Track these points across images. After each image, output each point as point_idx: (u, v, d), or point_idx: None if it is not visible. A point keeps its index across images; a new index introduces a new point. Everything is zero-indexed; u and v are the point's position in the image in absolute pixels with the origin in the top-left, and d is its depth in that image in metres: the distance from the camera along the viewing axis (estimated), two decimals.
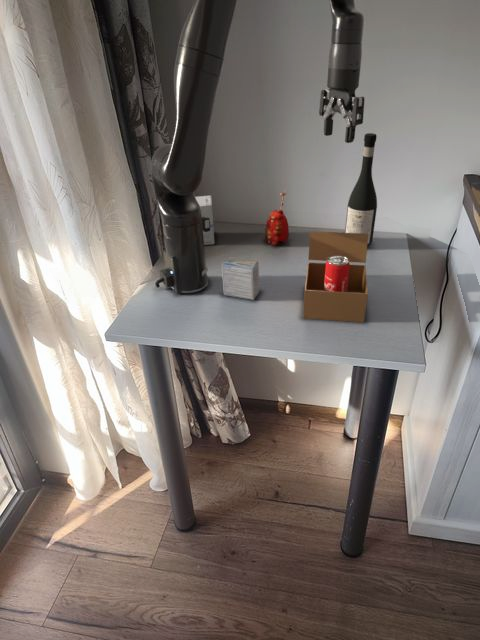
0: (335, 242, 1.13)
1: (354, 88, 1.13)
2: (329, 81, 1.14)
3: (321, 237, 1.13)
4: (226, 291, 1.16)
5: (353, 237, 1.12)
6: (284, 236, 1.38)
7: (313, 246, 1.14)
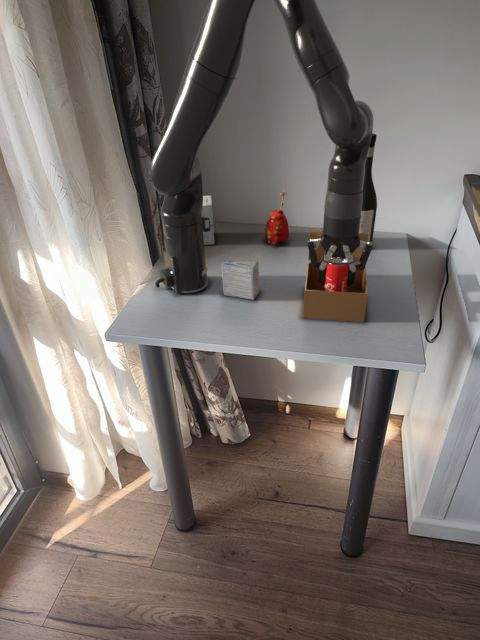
0: None
1: None
2: (338, 232, 0.97)
3: None
4: (226, 291, 1.16)
5: None
6: (284, 236, 1.38)
7: None
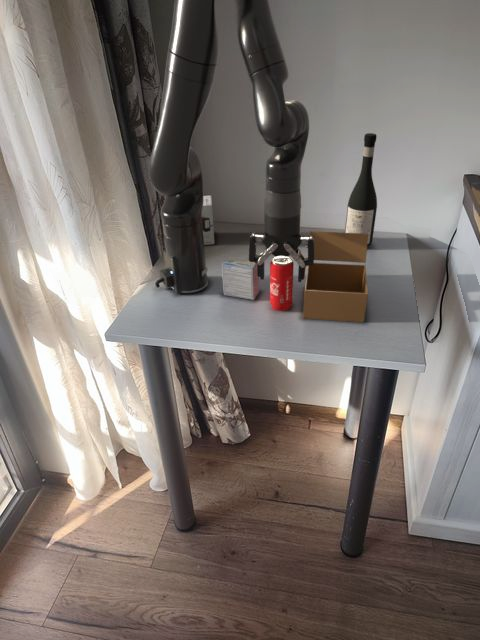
0: (335, 242, 1.13)
1: None
2: (277, 230, 0.98)
3: (321, 237, 1.13)
4: (226, 291, 1.16)
5: (353, 237, 1.12)
6: None
7: None
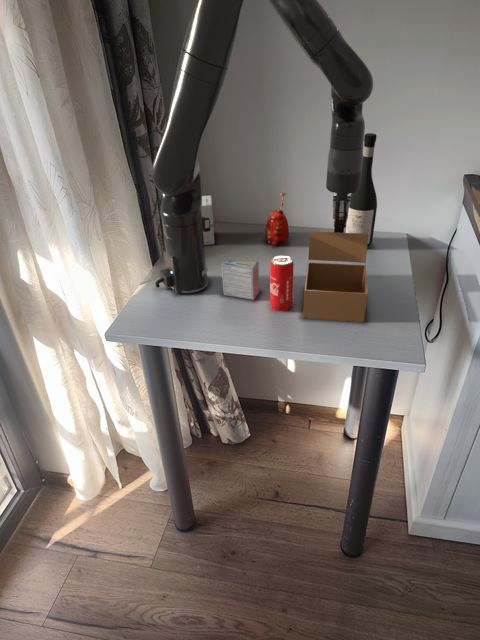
0: (335, 242, 1.13)
1: None
2: None
3: (321, 237, 1.13)
4: (226, 291, 1.16)
5: (353, 237, 1.12)
6: (284, 236, 1.38)
7: (313, 246, 1.14)
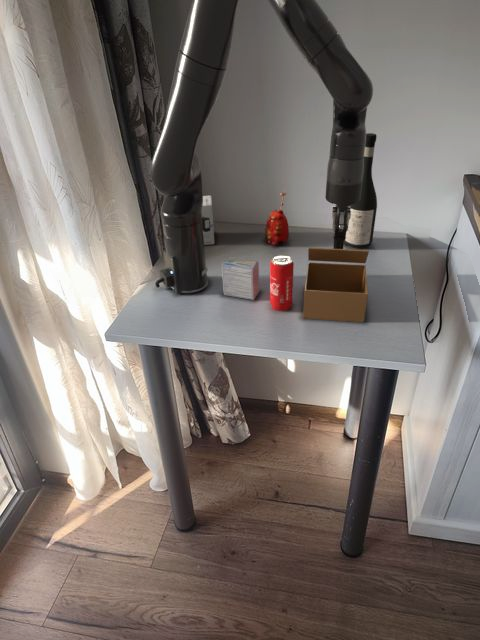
0: (335, 254, 1.10)
1: None
2: (360, 194, 1.02)
3: (320, 251, 1.09)
4: (226, 291, 1.16)
5: (353, 252, 1.08)
6: (284, 236, 1.38)
7: (312, 255, 1.12)
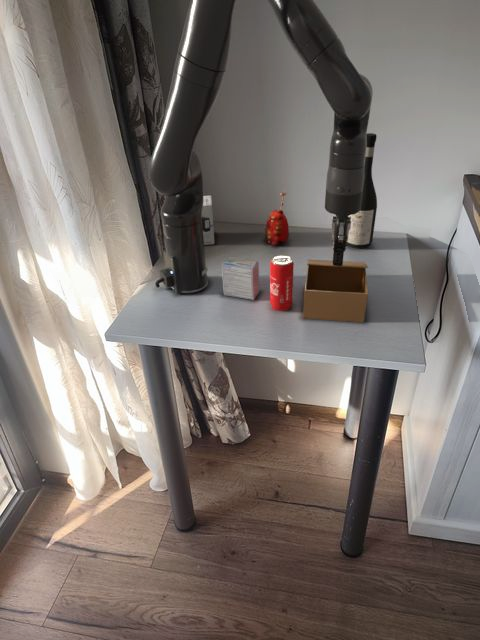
0: None
1: None
2: None
3: None
4: (226, 291, 1.16)
5: (352, 266, 1.08)
6: (284, 236, 1.38)
7: (311, 262, 1.12)
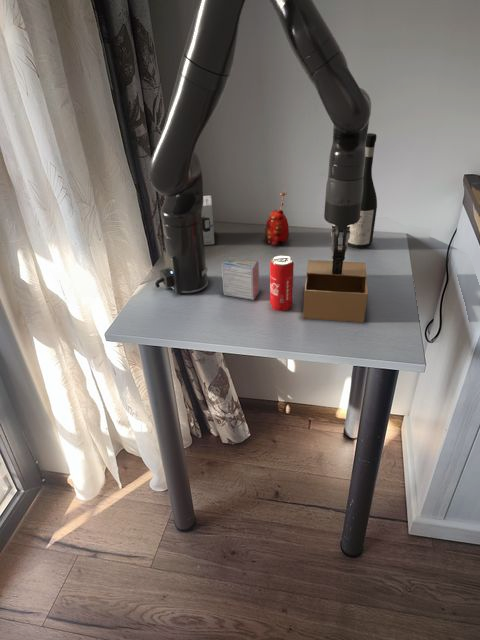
0: None
1: None
2: None
3: None
4: (226, 291, 1.16)
5: None
6: (284, 236, 1.38)
7: None
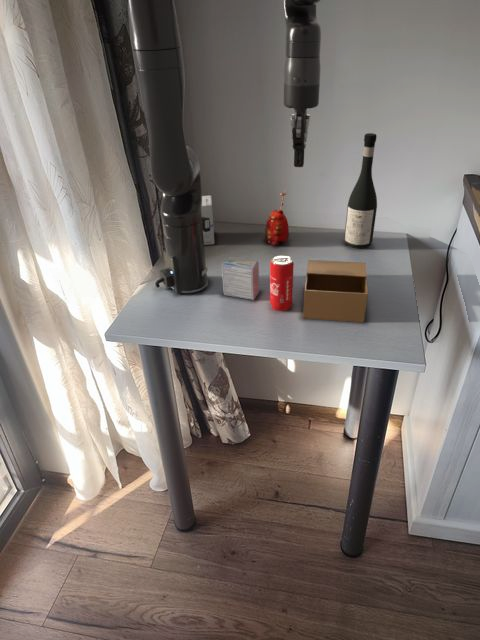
0: None
1: None
2: (318, 98, 1.02)
3: None
4: (226, 291, 1.16)
5: None
6: (284, 236, 1.38)
7: None
